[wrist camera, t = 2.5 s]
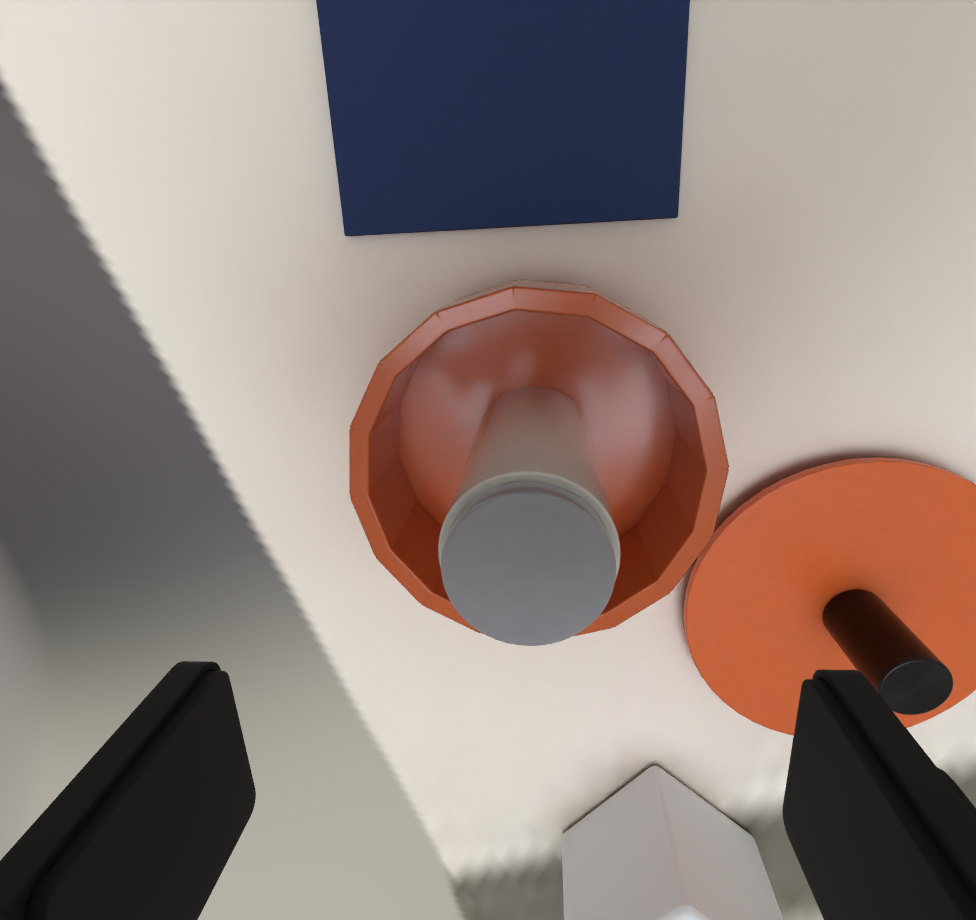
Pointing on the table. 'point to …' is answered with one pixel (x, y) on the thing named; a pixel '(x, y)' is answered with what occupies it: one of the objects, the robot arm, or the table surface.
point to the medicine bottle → (662, 859)
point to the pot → (567, 369)
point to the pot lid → (841, 590)
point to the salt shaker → (530, 523)
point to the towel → (504, 111)
